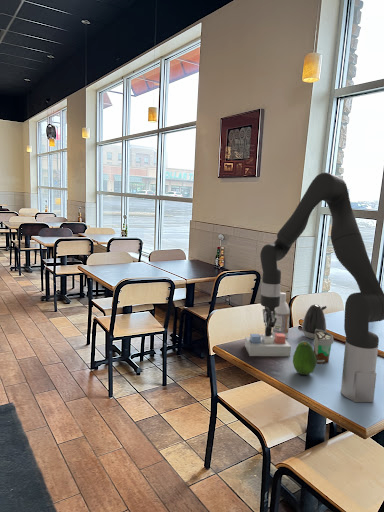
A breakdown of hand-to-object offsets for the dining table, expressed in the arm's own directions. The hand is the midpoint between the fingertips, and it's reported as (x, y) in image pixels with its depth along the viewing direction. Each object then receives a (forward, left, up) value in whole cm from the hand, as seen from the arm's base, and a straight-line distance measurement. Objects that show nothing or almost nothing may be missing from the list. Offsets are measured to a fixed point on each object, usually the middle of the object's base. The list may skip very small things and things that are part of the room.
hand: (268, 335), depth 148 cm
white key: (0, 0, -4) cm, 4 cm away
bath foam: (+16, -10, -7) cm, 20 cm away
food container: (-8, -20, -7) cm, 22 cm away
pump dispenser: (+15, -25, -7) cm, 30 cm away
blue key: (0, +5, -4) cm, 7 cm away
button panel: (0, 0, -6) cm, 6 cm away
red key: (0, -5, -4) cm, 6 cm away
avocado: (-20, -8, -7) cm, 23 cm away
